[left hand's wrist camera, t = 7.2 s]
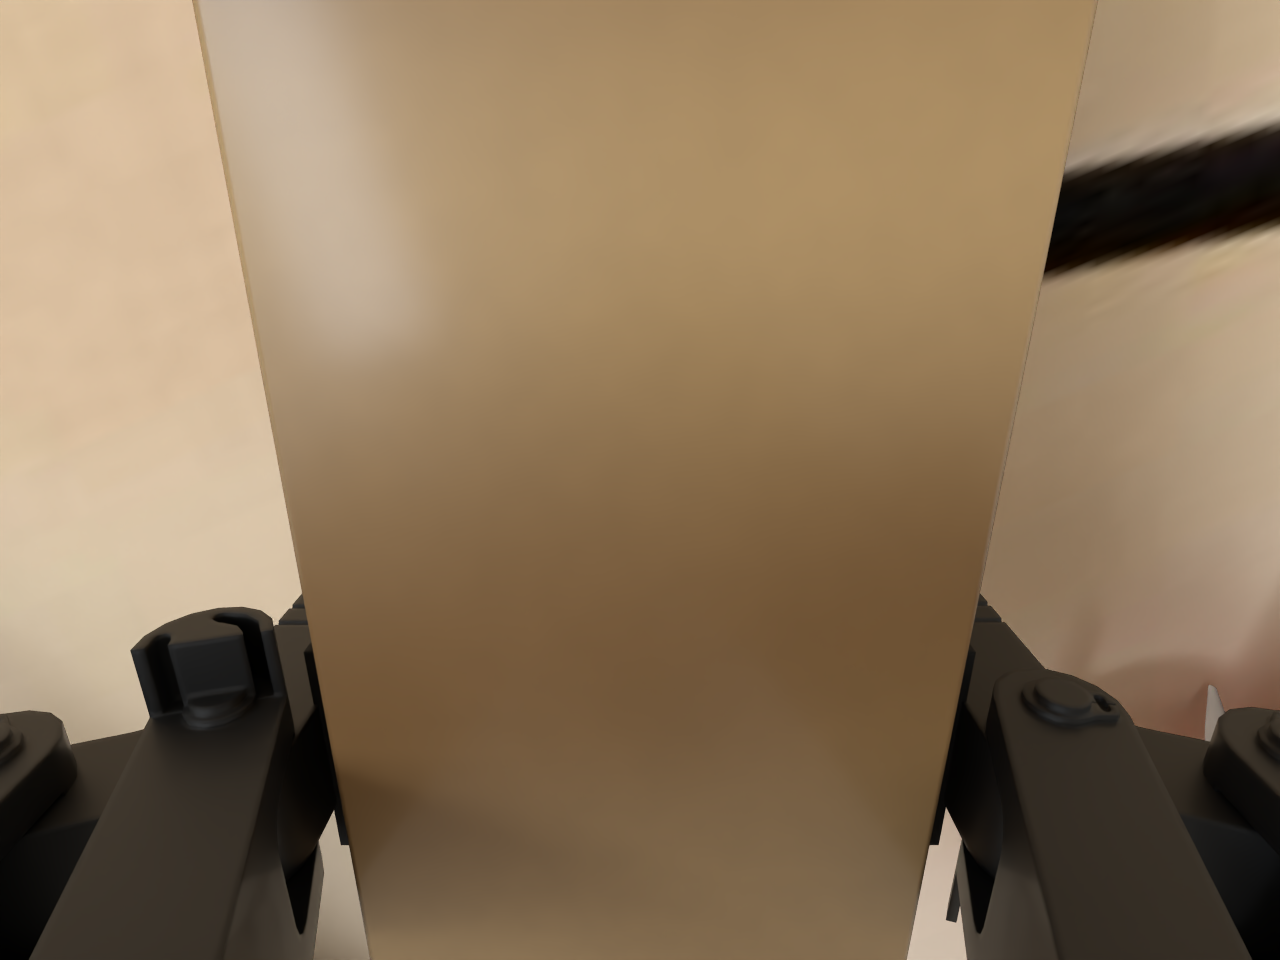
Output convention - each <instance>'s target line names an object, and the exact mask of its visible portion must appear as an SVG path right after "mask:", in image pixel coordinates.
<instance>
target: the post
mask: <svg viewBox="0 0 1280 960" xmlns="http://www.w3.org/2000/svg"><path fill="white" fill-rule="evenodd" d="M192 2H193V7H194V12H195V18H196V23H197V28H198V34H199V39H200V45H201V50H202V55H203V61H204V66H205V72H206V77H207V82H208V88H209V93H210V98H211V104H212V109H213V115H214V120H215V125H216V131H217V136H218V142H219V147H220V152H221V158H222V163H223V168H224V174H225V179H226V185H227V190H228V195H229V201H230V206H231V212H232V217H233V222H234V228H235V233H236V238H237V244H238V249H239V255H240V260H241V265H242V271H243V276H244V282H245V287H246V292H247V298H248V303H249V308H250V314H251V319H252V325H253V330H254V335H255V341H256V346H257V352H258V357H259V362H260V368H261V373H262V378H263V384H264V389H265V395H266V400H267V405H268V411H269V416H270V422H271V427H272V432H273V438H274V443H275V448H276V454H277V459H278V465H279V470H280V475H281V481H282V486H283V492H284V497H285V502H286V508H287V513H288V519H289V524H290V529H291V535H292V540H293V545H294V551H295V556H296V562H297V567H298V572H299V578H300V583H301V589H302V594H303V599H304V605H305V610H306V615H307V621H308V626H309V632H310V637H311V642H312V648H313V653H314V659H315V664H316V669H317V675H318V680H319V685H320V691H321V696H322V702H323V707H324V712H325V718H326V723H327V729H328V734H329V739H330V745H331V750H332V755H333V761H334V766H335V772H336V777H337V782H338V788H339V793H340V799H341V804H342V809H343V815H344V820H345V825H346V831H347V836H348V842H349V847H350V852H351V858H352V863H353V869H354V874H355V879H356V885H357V890H358V895H359V901H360V906H361V912H362V917H363V922H364V928H365V933H366V939H367V944H368V949H369V955H370V960H907V955H908V950H909V945H910V940H911V935H912V930H913V925H914V920H915V915H916V910H917V905H918V900H919V895H920V890H921V885H922V880H923V875H924V869H925V864H926V859H927V854H928V849H929V844H930V839H931V834H932V829H933V824H934V819H935V814H936V809H937V804H938V799H939V794H940V789H941V784H942V779H943V774H944V769H945V764H946V759H947V754H948V749H949V744H950V739H951V734H952V729H953V724H954V719H955V714H956V709H957V704H958V699H959V694H960V689H961V684H962V679H963V674H964V669H965V664H966V659H967V654H968V649H969V644H970V639H971V634H972V629H973V624H974V619H975V614H976V609H977V604H978V599H979V594H980V589H981V584H982V579H983V574H984V569H985V564H986V559H987V554H988V549H989V544H990V539H991V534H992V529H993V524H994V519H995V514H996V509H997V504H998V499H999V494H1000V489H1001V484H1002V479H1003V474H1004V469H1005V464H1006V459H1007V454H1008V449H1009V444H1010V439H1011V434H1012V429H1013V424H1014V419H1015V414H1016V409H1017V404H1018V399H1019V394H1020V389H1021V384H1022V379H1023V374H1024V369H1025V364H1026V358H1027V353H1028V348H1029V343H1030V338H1031V333H1032V328H1033V323H1034V318H1035V313H1036V308H1037V303H1038V298H1039V293H1040V288H1041V283H1042V278H1043V273H1044V268H1045V263H1046V258H1047V253H1048V248H1049V243H1050V238H1051V233H1052V228H1053V223H1054V218H1055V213H1056V208H1057V203H1058V198H1059V193H1060V188H1061V183H1062V178H1063V173H1064V168H1065V163H1066V158H1067V153H1068V148H1069V143H1070V138H1071V133H1072V128H1073V123H1074V118H1075V113H1076V108H1077V103H1078V98H1079V93H1080V88H1081V83H1082V78H1083V73H1084V68H1085V63H1086V58H1087V53H1088V48H1089V43H1090V38H1091V33H1092V28H1093V23H1094V18H1095V13H1096V8H1097V3H1098V0H192Z"/></svg>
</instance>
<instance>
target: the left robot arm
mask: <svg viewBox="0 0 1280 960" xmlns="http://www.w3.org/2000/svg"><path fill="white" fill-rule="evenodd" d="M130 651H131V654H132V657H133V661H134V664H135V668H136V671H137V674H138V678H139V681H140V685H141V688H142V691H143V695H144V698H145V702H146V705H147V708H148V712H149V715H150V718H149V720H148V722H147V724H146V726H145V728H144V729H143V730H140V731H136V732H132V733H127V734H122V735H117V736H112V737H107V738H102V739H97V740H92V741H87V742H82V743H77V744H72V745H70V742H69V740H68V737H67V734H66V731H65V728H64V725H63V722H62V721H61V720H60V719H58V718H57V717H56V716H54V715H53V714H52V713H48V712H39V711H30V710H29V711H22V712H14V713H7V714H0V960H313V956H314V948H315V940H316V932H317V924H318V916H319V908H320V901H321V893H322V885H323V877H324V869H323V862H322V855H321V851H320V846H319V841H318V840H319V838H320V836H321V834H322V832H323V831H324V829H325V827H326V825H327V823H328V821H329V819H330V817H331V815H332V813H333V811H335V817H336V822H337V827H338V832H339V837H340V842H341V845H349V842H348V836H347V831H346V825H345V820H344V815H343V809H342V804H341V799H340V793H339V788H338V782H337V777H336V772H335V766H334V761H333V755H332V750H331V745H330V739H329V734H328V729H327V723H326V718H325V712H324V707H323V702H322V696H321V691H320V685H319V680H318V675H317V669H316V664H315V659H314V653H313V648H312V642H311V637H310V632H309V626H308V621H307V615H306V610H305V605H304V599H303V594H301V596H300V597H299V598H298V599H297V600H296V601H295V603H294V604H293V608H292V609H289V610H288V611H287V612H286V613H285V614H284V615H283V617H282V618H281V619H280V620H279V625H275V626H273V621H272V618H271V617H269V616H268V615H267V614H265V613H264V612H262V611H261V610H256V609H251V608H246V607H229V608H216V609H211V610H207V611H202V612H197V613H193V614H190V615H187V616H184V617H182V618H179V619H176V620H174V621H171V622H168V623H166V624H164V625H162V626H161V627H159V628H157V629H156V630H154V631H152V632H151V633H149V634H147V635H145V636H144V637H143V638H142V639H141V640H140V641H139V642H138V643H137V644H136V645H135V646H134V647H133V648H132V649H131V650H130ZM946 808H947V810H948V812H949V814H950V816H951V818H952V820H953V822H954V824H955V826H956V828H957V829H958V831H959V833H960V835H961V837H962V841H961V846H960V850H959V855H958V860H957V865H956V870H955V874H954V879H953V884H952V889H951V894H950V898H949V903H948V910H947V917H946V920H948V921H952V922H956V921H957V917H958V912H959V908H960V907H961V915H962V922H963V930H964V938H965V946H966V954H967V960H1280V710H1270V709H1263V708H1255V707H1246V708H1237V709H1230V710H1228V711H1227V712H1226V713H1224V714H1223V715H1221V716H1220V717H1219V718H1218V720H1217V723H1216V726H1215V729H1214V732H1213V735H1212V738H1211V741H1205V740H1200V739H1195V738H1190V737H1185V736H1180V735H1175V734H1170V733H1165V732H1160V731H1155V730H1150V729H1146V728H1142V727H1138V726H1135V725H1134V723H1133V721H1132V719H1131V717H1130V715H1129V714H1128V713H1127V712H1126V711H1125V709H1124V708H1123V707H1122V706H1121V704H1120V703H1119V702H1118V701H1117V700H1116V699H1114V698H1113V697H1112V696H1110V695H1109V694H1107V693H1106V692H1104V691H1103V690H1101V689H1100V688H1099V687H1097V686H1095V685H1093V684H1090V683H1088V682H1086V681H1084V680H1081V679H1079V678H1077V677H1074V676H1072V675H1068V674H1064V673H1060V672H1056V671H1052V670H1048V669H1045V668H1044V667H1043V666H1042V665H1041V664H1040V663H1039V661H1038V660H1037V659H1036V658H1035V657H1034V656H1033V654H1032V653H1031V652H1030V651H1029V650H1028V649H1027V647H1026V646H1025V645H1024V644H1023V643H1022V642H1021V640H1020V639H1019V638H1018V637H1017V636H1016V635H1015V633H1014V632H1013V631H1012V630H1011V629H1010V628H1009V627H1008V625H1007V624H1006V623H1005V622H1001V617H1000V616H999V615H998V614H997V613H996V611H995V610H994V609H993V608H992V607H991V606H988V605H987V601H986V600H985V599H984V598H983V596H982V595H981V594H979V599H978V604H977V609H976V614H975V619H974V624H973V629H972V634H971V639H970V644H969V649H968V654H967V659H966V664H965V669H964V674H963V679H962V684H961V689H960V694H959V699H958V704H957V709H956V714H955V719H954V724H953V729H952V734H951V739H950V744H949V749H948V754H947V759H946V764H945V769H944V774H943V779H942V784H941V789H940V794H939V799H938V804H937V809H936V814H935V819H934V824H933V829H932V834H931V839H930V844H929V845H939V840H940V835H941V830H942V824H943V819H944V814H945V809H946Z"/></svg>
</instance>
